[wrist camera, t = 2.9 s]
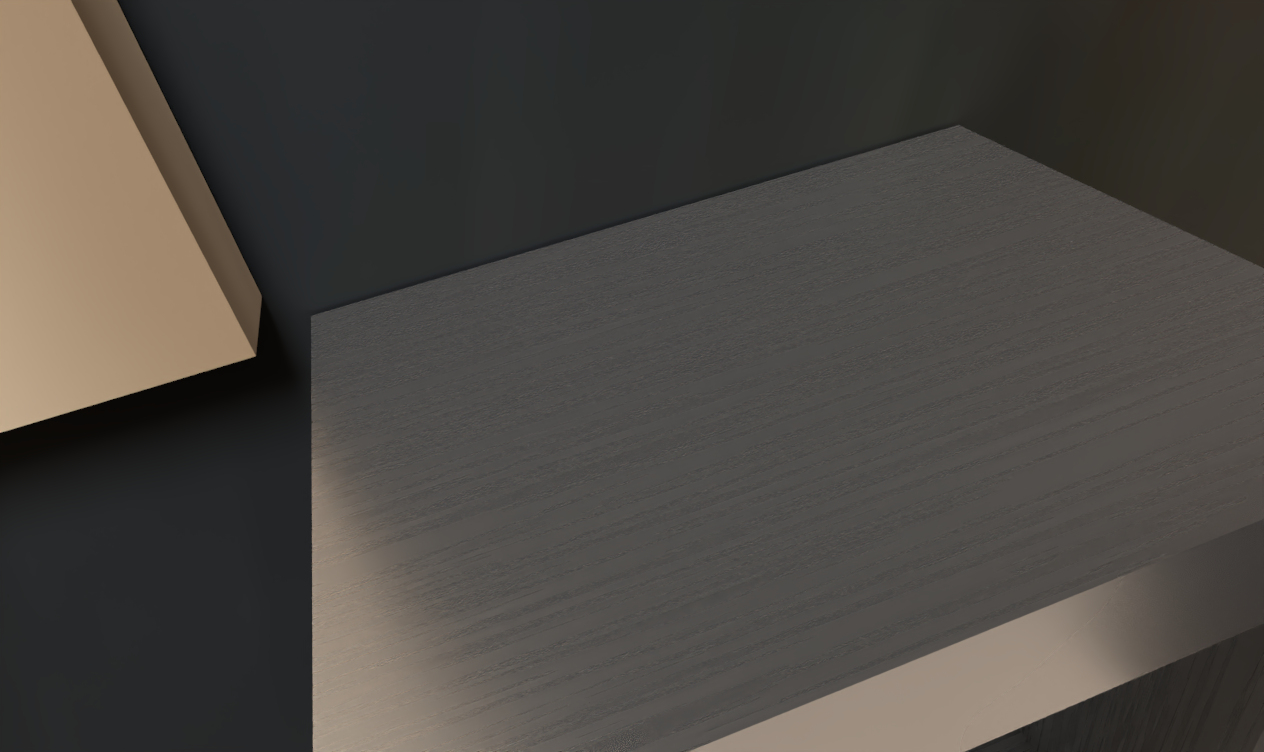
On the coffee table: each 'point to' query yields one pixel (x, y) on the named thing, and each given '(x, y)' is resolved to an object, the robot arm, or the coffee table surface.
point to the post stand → (103, 223)
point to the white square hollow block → (803, 479)
